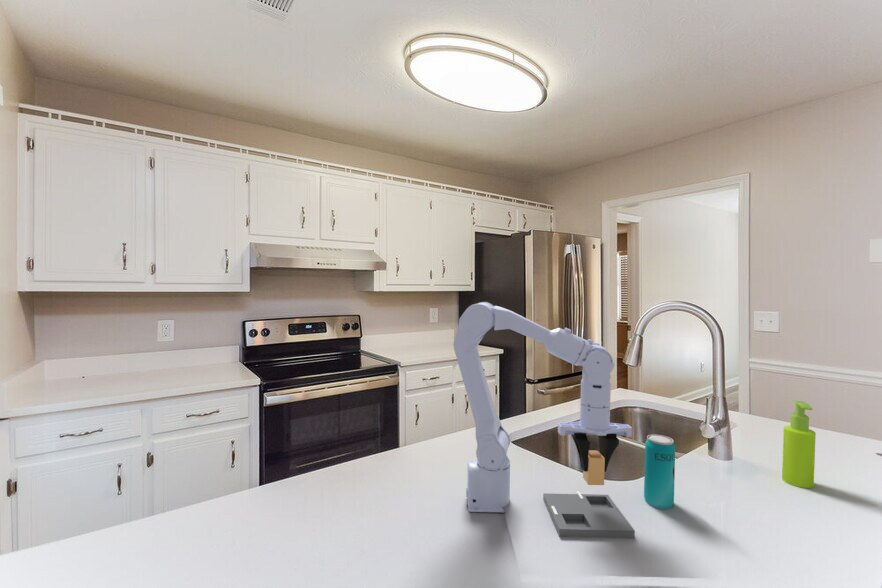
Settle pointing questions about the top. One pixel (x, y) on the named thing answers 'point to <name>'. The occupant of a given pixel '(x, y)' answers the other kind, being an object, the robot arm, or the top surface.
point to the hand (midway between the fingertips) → (593, 469)
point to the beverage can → (659, 471)
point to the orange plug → (595, 468)
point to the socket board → (587, 516)
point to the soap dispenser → (799, 449)
